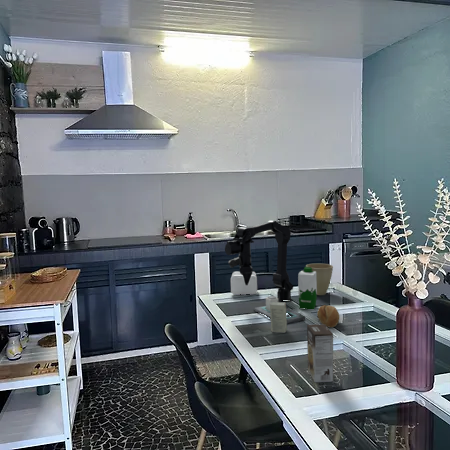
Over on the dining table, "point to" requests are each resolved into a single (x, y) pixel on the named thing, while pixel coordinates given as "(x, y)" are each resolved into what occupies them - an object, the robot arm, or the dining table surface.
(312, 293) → the milk carton
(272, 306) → the skincare box
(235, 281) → the white rounded box
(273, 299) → the plug
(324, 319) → the bread roll
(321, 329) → the coffee box
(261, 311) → the socket panel
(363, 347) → the dining table surface
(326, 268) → the plant pot
